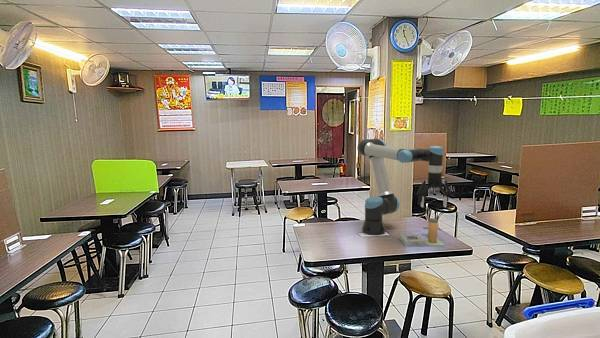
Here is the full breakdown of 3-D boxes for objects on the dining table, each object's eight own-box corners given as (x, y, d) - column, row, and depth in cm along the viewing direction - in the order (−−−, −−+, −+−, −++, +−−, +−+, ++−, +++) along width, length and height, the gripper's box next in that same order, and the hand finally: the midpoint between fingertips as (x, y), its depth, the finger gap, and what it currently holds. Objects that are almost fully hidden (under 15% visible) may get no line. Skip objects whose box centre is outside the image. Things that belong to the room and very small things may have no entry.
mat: (421, 239, 198) (421, 238, 198) (437, 239, 197) (437, 238, 197) (427, 246, 187) (427, 245, 187) (444, 246, 186) (444, 244, 186)
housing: (399, 239, 200) (399, 234, 199) (418, 238, 199) (418, 234, 199) (405, 246, 188) (405, 241, 187) (425, 245, 187) (425, 241, 187)
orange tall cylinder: (426, 240, 194) (427, 218, 193) (434, 240, 194) (435, 218, 192) (429, 243, 189) (430, 220, 188) (438, 243, 189) (439, 220, 187)
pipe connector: (440, 238, 200) (441, 223, 199) (424, 237, 202) (424, 222, 201) (437, 233, 210) (438, 218, 208) (421, 232, 212) (422, 217, 210)
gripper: (416, 173, 183) (414, 208, 186) (459, 173, 182) (457, 208, 185) (411, 171, 191) (410, 205, 193) (453, 171, 190) (451, 205, 193)
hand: (433, 206), depth 189 cm, fingers open, 13 cm apart
